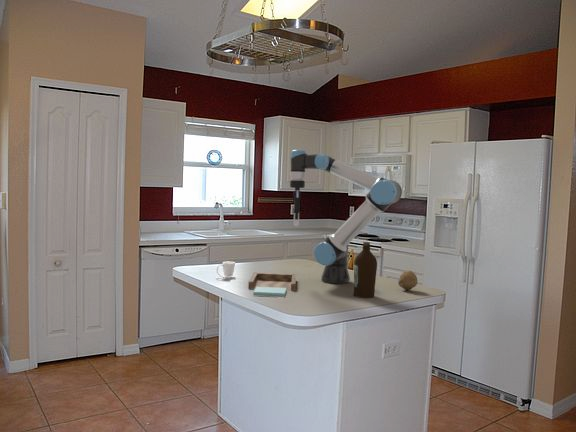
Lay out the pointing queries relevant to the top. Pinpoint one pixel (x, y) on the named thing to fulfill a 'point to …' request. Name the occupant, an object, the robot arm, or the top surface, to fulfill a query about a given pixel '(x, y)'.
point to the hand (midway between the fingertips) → (296, 225)
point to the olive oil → (365, 273)
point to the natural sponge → (407, 280)
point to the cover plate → (269, 291)
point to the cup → (227, 269)
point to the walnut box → (273, 281)
